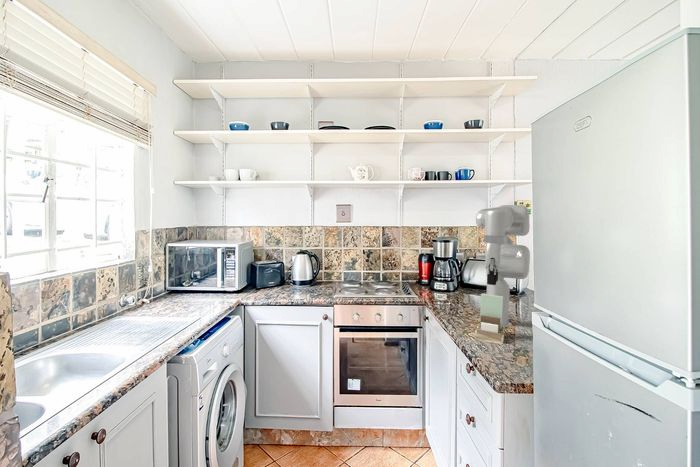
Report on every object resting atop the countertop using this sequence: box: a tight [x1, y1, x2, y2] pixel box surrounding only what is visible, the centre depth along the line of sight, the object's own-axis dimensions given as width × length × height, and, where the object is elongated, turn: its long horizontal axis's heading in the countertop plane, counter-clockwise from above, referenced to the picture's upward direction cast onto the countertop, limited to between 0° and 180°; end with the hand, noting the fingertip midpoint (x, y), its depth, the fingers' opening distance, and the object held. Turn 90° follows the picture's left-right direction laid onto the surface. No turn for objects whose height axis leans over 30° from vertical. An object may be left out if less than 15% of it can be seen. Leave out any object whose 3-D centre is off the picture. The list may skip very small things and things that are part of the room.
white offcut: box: [481, 322, 498, 333], centre depth 119 cm, size 2×6×6 cm, turn 61°
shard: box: [467, 321, 478, 326], centre depth 142 cm, size 11×8×2 cm
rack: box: [474, 322, 505, 345], centre depth 122 cm, size 11×10×5 cm
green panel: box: [479, 293, 503, 329], centre depth 124 cm, size 2×8×16 cm, turn 61°
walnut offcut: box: [479, 315, 500, 331], centre depth 122 cm, size 2×7×8 cm, turn 61°
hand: (492, 282), depth 124 cm, fingers open, 9 cm apart
